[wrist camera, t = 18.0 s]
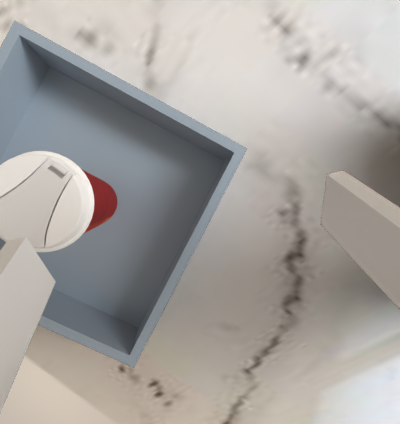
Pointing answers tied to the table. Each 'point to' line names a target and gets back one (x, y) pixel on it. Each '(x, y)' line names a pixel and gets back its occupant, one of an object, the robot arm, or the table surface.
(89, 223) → the paper cup
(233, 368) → the table surface
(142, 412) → the table surface
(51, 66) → the bin
